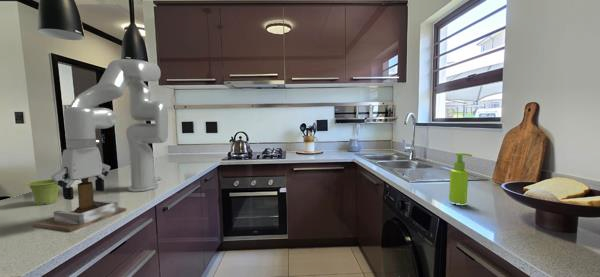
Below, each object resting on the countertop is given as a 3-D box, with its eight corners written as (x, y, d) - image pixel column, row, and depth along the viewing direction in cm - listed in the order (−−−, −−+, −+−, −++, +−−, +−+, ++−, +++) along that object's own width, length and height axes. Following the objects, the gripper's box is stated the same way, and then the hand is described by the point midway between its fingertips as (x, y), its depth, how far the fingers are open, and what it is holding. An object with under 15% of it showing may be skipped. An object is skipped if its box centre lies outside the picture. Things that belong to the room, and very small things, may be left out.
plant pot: (68, 199, 106) (67, 179, 105) (44, 207, 97) (42, 185, 96) (49, 198, 107) (47, 178, 106) (22, 206, 97) (20, 184, 97)
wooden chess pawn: (84, 219, 82) (80, 165, 80) (69, 218, 83) (64, 164, 82) (104, 212, 88) (101, 161, 87) (89, 211, 89) (85, 161, 88)
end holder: (93, 206, 96) (93, 196, 96) (126, 210, 92) (125, 200, 92) (33, 226, 79) (32, 213, 79) (70, 231, 75) (69, 218, 75)
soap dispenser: (470, 207, 94) (473, 154, 93) (449, 204, 98) (451, 153, 96) (469, 202, 99) (471, 153, 98) (448, 200, 103) (450, 151, 101)
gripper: (99, 142, 93) (102, 187, 94) (41, 147, 76) (46, 202, 77) (115, 142, 91) (118, 188, 92) (59, 147, 74) (63, 204, 75)
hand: (85, 194), depth 85 cm, fingers open, 9 cm apart
